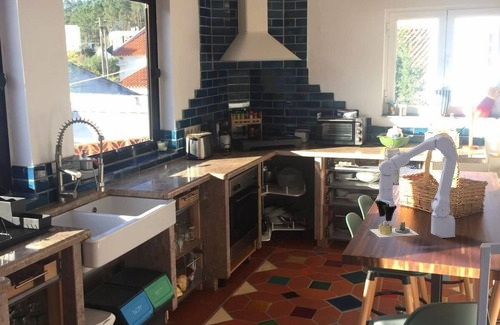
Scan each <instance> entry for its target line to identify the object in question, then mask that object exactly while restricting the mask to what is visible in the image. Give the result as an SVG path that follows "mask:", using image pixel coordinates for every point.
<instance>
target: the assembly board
mask: <svg viewBox="0 0 500 325" xmlns="http://www.w3.org/2000/svg"><path fill="white" fill-rule="evenodd" d="M382 223H383V226H387V223H388V221H386V220H384V221H383V222H382ZM369 231H371V232H372V233H373V234H374V235H376V237H378V238H389V237H391V238H392V237H405V236H406V237H407V236H419V235H420V234H419V233H417V232H416V231H414V229H413V230H412V229H411V228H409V226H406V222H405V221H399V227H392V233H391V234H386V235H385V234H380V233H379V232H378V228H371V229H369Z"/></svg>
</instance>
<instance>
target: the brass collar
mask: <svg viewBox="0 0 500 325" xmlns="http://www.w3.org/2000/svg"><path fill="white" fill-rule="evenodd" d="M377 226H378V228H377V229H378V232H379V233H380V234H385V235H386V234H391V233H392V228H393V225H392V224H391V223H388V222H387V226H383V222H381V223H379V224H378V225H377Z"/></svg>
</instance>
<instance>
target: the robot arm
mask: <svg viewBox="0 0 500 325" xmlns="http://www.w3.org/2000/svg"><path fill="white" fill-rule="evenodd" d="M436 149H437V150H438V151H440V153H441V155H442V156H443V158H444V159H443V164H442V170H441V174H440V178H439V183H438V188H437V192H436V194H435V196H434V198H433V200H432V201H431V203H430V208H431V209H432V213H431V216H430V217H431V222H430V234H432V235H434V236H437V237H439V238H441V239H443V238H455V237H456V219H455V217H454V215H451V214H450V213H451V208H450V207H451V206H450V203H451V201H450V200H451V199H450V194H451V189H452V185H453V181H454V180H453V179H454V176H455V172H456V166H457V162H458V156H459V155H458V152H457V149H456V146H455V145H454V142H453V141H452V139H451V138H449V137H447V136H445V135H444V134H441V133H437V134H435V135H434V136H431V137H428V138H427V139H425V140H424V141H422V142H421V143H419V144H418V145H416V146H414V147H412V148H411V149H409V150H408V151H400V152H397V155H395V156H393V157H391V158H390V159H389V158H387V160H388V161H384V160H382V161H381V162H380V163H379V165H378V170H379V171H380V172H379V183H378V184H379V186H378V187H379V188H378V190H379V191H378V194H377V197H376V200H375V201H374V203H375V204H376V206H377V210H378V215H379V217H385V221H387V222H391V221H393V220H392V219H393V217H394V213H395V211H396V210H397V208H398V207H397V205H395V200H394V198H393V197H394V196H393V192H394V184H393V173H394V170H397V169H399V168H400V169H401V168H402V167H404V166H405V165H408V164H409V163H410V161H411V159H412V158H415V157H416V156H418V155H420V154H422V153H424V152H427V151H436Z"/></svg>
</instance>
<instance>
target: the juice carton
mask: <svg viewBox="0 0 500 325" xmlns="http://www.w3.org/2000/svg"><path fill="white" fill-rule="evenodd" d="M397 152H401V151H400V148H399V146H395V144H394V145H391V144H390V145H389V146H385V147H384V153H383V155H384V157H383V161H388V160H387V158H389V159H390V158H391V157H393V156H395V155H397ZM400 169H401V168H399V169H397V170H394V173H393V185H398V184H399V182H400V175H401V174H400Z"/></svg>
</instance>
